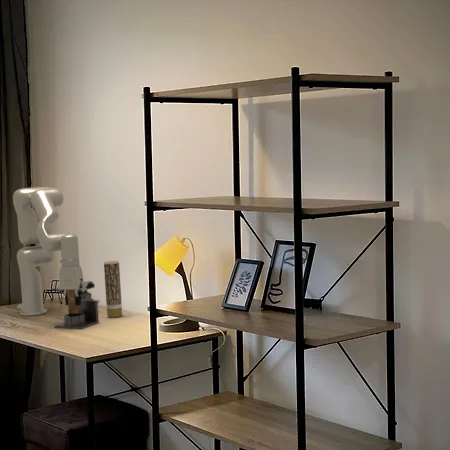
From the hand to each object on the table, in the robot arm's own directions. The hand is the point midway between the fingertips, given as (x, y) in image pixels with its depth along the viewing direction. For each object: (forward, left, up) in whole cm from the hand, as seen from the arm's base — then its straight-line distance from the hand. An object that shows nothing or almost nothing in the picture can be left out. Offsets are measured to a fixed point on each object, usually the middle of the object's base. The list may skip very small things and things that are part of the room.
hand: (73, 304), depth 356 cm
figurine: (-13, +26, -10) cm, 31 cm away
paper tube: (+6, +22, -10) cm, 25 cm away
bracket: (0, +2, -9) cm, 10 cm away
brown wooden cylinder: (0, 0, -4) cm, 4 cm away
